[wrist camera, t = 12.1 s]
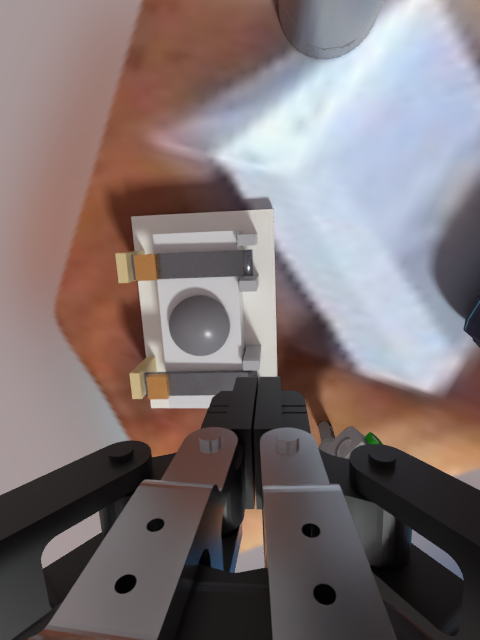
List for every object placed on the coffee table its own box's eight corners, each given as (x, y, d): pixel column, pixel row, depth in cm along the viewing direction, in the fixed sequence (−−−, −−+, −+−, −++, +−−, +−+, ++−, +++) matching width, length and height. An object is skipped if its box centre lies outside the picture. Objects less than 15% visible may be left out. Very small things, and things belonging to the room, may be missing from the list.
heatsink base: (135, 216, 40) (109, 213, 34) (273, 209, 39) (273, 205, 33) (154, 403, 45) (135, 430, 39) (278, 403, 44) (278, 431, 38)
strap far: (146, 371, 39) (141, 377, 37) (257, 369, 38) (256, 375, 36) (148, 392, 39) (143, 399, 38) (257, 391, 38) (257, 398, 37)
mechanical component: (287, 447, 45) (290, 506, 35) (345, 389, 43) (366, 434, 33) (305, 462, 45) (314, 525, 35) (365, 404, 43) (391, 455, 33)
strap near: (134, 254, 36) (127, 255, 34) (252, 249, 35) (251, 250, 33) (136, 279, 36) (130, 281, 35) (253, 274, 36) (252, 276, 34)
